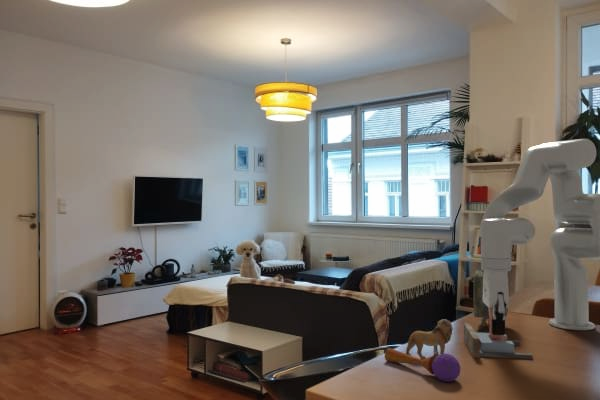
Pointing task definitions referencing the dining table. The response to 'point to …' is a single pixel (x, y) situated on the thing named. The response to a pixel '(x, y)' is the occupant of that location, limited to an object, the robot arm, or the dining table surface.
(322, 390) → the dining table surface
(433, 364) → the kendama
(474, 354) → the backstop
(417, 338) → the lion figurine
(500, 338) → the dowel
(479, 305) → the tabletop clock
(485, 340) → the block
